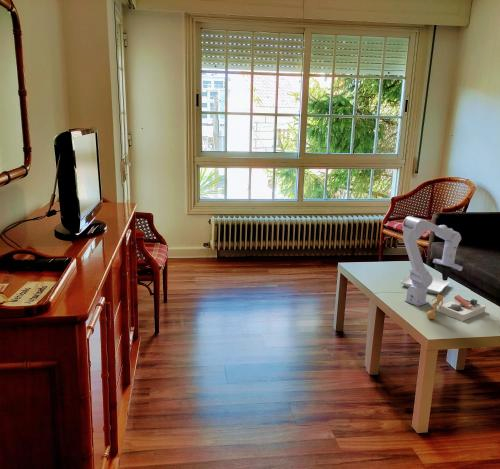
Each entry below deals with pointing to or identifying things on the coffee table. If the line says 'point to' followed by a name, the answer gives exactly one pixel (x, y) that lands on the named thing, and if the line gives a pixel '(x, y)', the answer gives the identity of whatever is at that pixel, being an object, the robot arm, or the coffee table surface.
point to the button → (456, 307)
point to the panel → (464, 312)
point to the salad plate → (434, 288)
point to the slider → (473, 302)
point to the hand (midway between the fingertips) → (444, 280)
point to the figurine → (431, 313)
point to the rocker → (463, 301)
